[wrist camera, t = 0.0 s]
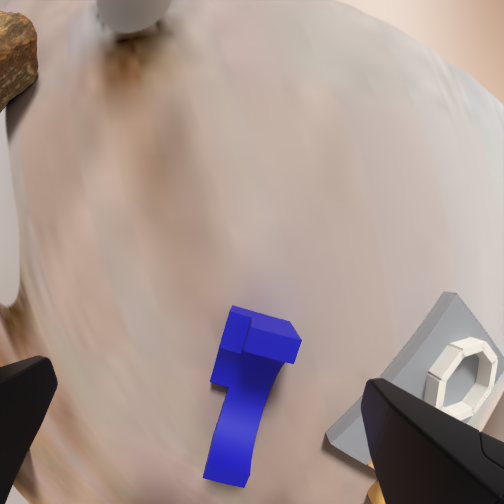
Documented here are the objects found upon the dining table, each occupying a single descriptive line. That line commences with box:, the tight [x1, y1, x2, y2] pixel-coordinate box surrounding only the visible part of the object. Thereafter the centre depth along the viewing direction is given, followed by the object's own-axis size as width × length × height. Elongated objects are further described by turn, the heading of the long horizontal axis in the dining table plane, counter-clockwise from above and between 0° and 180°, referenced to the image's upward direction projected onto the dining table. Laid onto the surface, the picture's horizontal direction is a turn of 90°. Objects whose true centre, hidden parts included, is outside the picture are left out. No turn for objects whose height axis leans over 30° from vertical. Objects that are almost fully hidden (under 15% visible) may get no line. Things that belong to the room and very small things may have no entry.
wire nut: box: [368, 481, 385, 504], centre depth 19 cm, size 4×4×6 cm
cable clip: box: [203, 306, 302, 488], centre depth 19 cm, size 12×4×6 cm, turn 164°
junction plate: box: [326, 292, 504, 470], centre depth 20 cm, size 16×12×4 cm
